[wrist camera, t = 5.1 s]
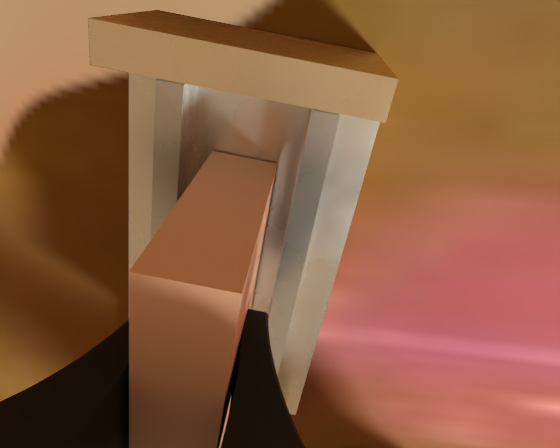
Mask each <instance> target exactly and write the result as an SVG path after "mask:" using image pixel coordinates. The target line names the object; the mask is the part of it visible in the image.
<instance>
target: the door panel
mask: <svg viewBox="0 0 560 448" xmlns="http://www.w3.org/2000/svg"><path fill="white" fill-rule="evenodd" d="M276 169H277V164H276V163H271V162H266V161H261V160H256V159H251V158H246V157H240V156H235V155H230V154H225V153H220V152H215V151H212V152H211V154H210V155H209V157H208V158H207V160H206V161H205V163H204V164H203V165H202V167H201V168H200V170H199V171H198V173H197V174H196V176H195V177H194V178H193V180H192V181H191V183H190V184H189V186H188V187H187V189H186V190H185V191H184V193H183V194H182V196H181V197H180V199H179V200H178V202H177V203H176V204H175V206H174V207H173V209H172V210H171V212H170V213H169V215H168V216H167V217H166V219H165V220H164V222H163V223H162V225H161V226H160V228H159V229H158V230H157V232H156V233H155V235H154V236H153V238H152V239H151V241H150V242H149V243H148V245H147V246H146V248H145V249H144V251H143V252H142V254H141V255H140V256H139V258H138V259H137V261H136V262H135V264H134V265H133V267H132V268H131V269H130V271H129V448H221V444H222V440H223V436H224V432H225V428H226V424H227V420H228V416H229V409H230V401H231V393H232V387H233V382H234V376H235V370H236V364H237V358H238V352H239V347H240V341H241V335H242V329H243V326H244V322H245V318H246V314H247V311H248V309H252V303H253V297H254V292H255V286H256V281H257V275H258V270H259V264H260V258H261V253H262V247H263V242H264V236H265V230H266V225H267V219H268V214H269V208H270V203H271V197H272V191H273V186H274V180H275V175H276Z"/></svg>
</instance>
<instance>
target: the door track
mask: <svg viewBox="0 0 560 448" xmlns="http://www.w3.org/2000/svg"><path fill="white" fill-rule="evenodd" d="M88 27H89V50H90V51H89V52H90V65H93V66H98V67H103V68H108V69H113V70H118V71H123V72H129V271H130V269H131V268H132V267H133V265H134V264H135V262H136V261H137V259H138V258H139V256H140V255H141V254H142V252H143V251H144V249H145V248H146V246H147V245H148V243H149V242H150V241H151V239H152V238H153V236H154V235H155V233H156V232H157V230H158V229H159V228H160V226H161V225H162V223H163V222H164V220H165V219H166V217H167V216H168V215H169V213H170V212H171V210H172V209H173V207H174V206H175V204H176V203H177V202H178V200H179V199H180V197H181V196H182V194H183V193H184V191H185V190H186V189H187V187H188V186H189V184H190V183H191V181H192V180H193V178H194V177H195V176H196V174H197V173H198V171H199V170H200V168H201V167H202V165H203V164H204V163H205V161H206V160H207V158H208V157H209V155H210V154H211V152H212V151H215V152H220V153H225V154H230V155H235V156H240V157H246V158H251V159H256V160H261V161H266V162H271V163H276V164H277V169H276V175H275V180H274V186H273V191H272V197H271V203H270V208H269V214H268V219H267V225H266V230H265V236H264V242H263V247H262V253H261V258H260V264H259V270H258V275H257V281H256V286H255V292H254V297H253V303H252V310H257V311H262V312H266V313H267V314H268V315H269V318H268V327H269V338H270V345H271V351H272V355H273V360H274V365H275V369H276V373H277V377H278V380H279V383H280V387H281V390H282V393H283V396H284V399H285V402H286V405H287V407H288V410H289V413H290V414H292V415H296V412H297V408H298V405H299V401H300V398H301V394H302V391H303V387H304V384H305V381H306V377H307V374H308V370H309V367H310V363H311V360H312V356H313V353H314V349H315V346H316V342H317V339H318V335H319V332H320V328H321V325H322V321H323V318H324V315H325V311H326V308H327V304H328V301H329V297H330V294H331V290H332V287H333V283H334V280H335V276H336V273H337V269H338V266H339V262H340V259H341V255H342V252H343V248H344V245H345V242H346V238H347V235H348V231H349V228H350V224H351V221H352V217H353V214H354V210H355V207H356V203H357V200H358V196H359V193H360V189H361V186H362V182H363V179H364V176H365V172H366V169H367V165H368V162H369V158H370V155H371V151H372V148H373V144H374V141H375V137H376V134H377V130H378V127H379V123H380V122H383V123H386V119H387V116H388V113H389V109H390V106H391V102H392V99H393V96H394V92H395V89H396V85H397V82H398V78H397V77H396V76H395V74H394V73H393V72H392V71H391V69H390V68H389V67H388V66H387V65H386V63H385V62H384V61H383V60H382V59H381V57H380V56H379V55H378V54H377V53H373V52H368V51H363V50H358V49H353V48H348V47H343V46H338V45H333V44H327V43H322V42H317V41H312V40H307V39H302V38H297V37H292V36H287V35H282V34H277V33H272V32H266V31H261V30H256V29H251V28H246V27H241V26H236V25H231V24H226V23H221V22H216V21H210V20H205V19H200V18H195V17H190V16H185V15H180V14H175V13H169V12H164V11H160V10H154V11H145V12H136V13H128V14H119V15H111V16H102V17H94V18H88Z"/></svg>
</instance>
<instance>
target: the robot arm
mask: <svg viewBox="0 0 560 448" xmlns="http://www.w3.org/2000/svg"><path fill="white" fill-rule="evenodd" d="M268 318H269V315H268V314H267V313H266V312H262V311H257V310H252V309H248V311H247V314H246V318H245V322H244V326H243V329H242V335H241V341H240V347H239V352H238V358H237V364H236V370H235V376H234V382H233V387H232V393H231V401H230V409H229V416H228V420H227V424H226V428H225V432H224V436H223V440H222V444H221V448H305V446H304V444H303V442H302V440H301V438H300V436H299V434H298V432H297V430H296V427H295V425H294V422H293V420H292V418H291V415H290V413H289V410H288V407H287V405H286V402H285V399H284V396H283V393H282V390H281V387H280V383H279V380H278V377H277V373H276V369H275V365H274V360H273V355H272V351H271V345H270V338H269V327H268ZM0 448H129V320H128V321H127V322H126V323H124V324H123V325H122V326H121V327H120V328H118V329H117V330H116V331H115V332H114V333H112V334H111V335H110V336H109V337H107V338H106V339H105V340H103V341H102V342H101V343H99V344H98V345H97V346H95V347H94V348H93V349H91V350H90V351H88V352H87V353H86V354H84V355H83V356H81V357H80V358H78V359H77V360H75V361H74V362H72V363H71V364H69V365H67V366H66V367H64V368H63V369H61V370H59V371H58V372H56V373H54V374H53V375H51V376H49V377H47V378H46V379H44V380H42V381H40V382H39V383H37V384H35V385H33V386H31V387H29V388H27V389H26V390H24V391H22V392H19V393H17V394H15V395H13V396H11V397H9V398H7V399H5V400H3V401H1V402H0Z"/></svg>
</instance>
